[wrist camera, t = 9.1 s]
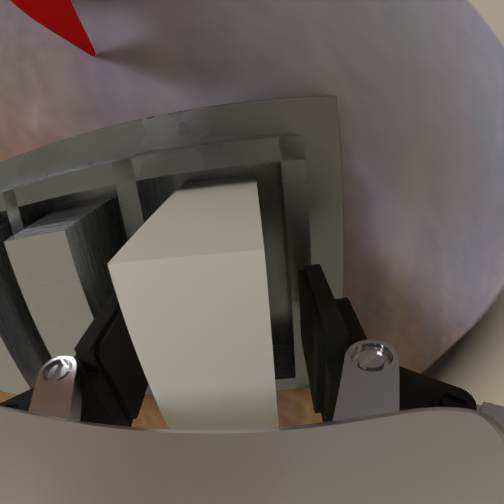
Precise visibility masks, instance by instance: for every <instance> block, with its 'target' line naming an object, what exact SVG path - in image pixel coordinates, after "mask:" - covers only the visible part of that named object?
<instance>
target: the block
mask: <svg viewBox="0 0 504 504" xmlns="http://www.w3.org/2000/svg"><path fill="white" fill-rule="evenodd" d="M107 265H108V268H109V272H110V275H111V278H112V282H113V285H114V289H115V292H116V295H117V298H118V301H119V304H120V308H121V311H122V314H123V317H124V320H125V323H126V325H127V328H128V331H129V334H130V337H131V340H132V342H133V345H134V348H135V350H136V353H137V356H138V358H139V361H140V363H141V366H142V369H143V371H144V374H145V376H146V378H147V381H148V383H149V386H150V388H151V390H152V393H153V395H154V397H155V400H156V402H157V404H158V407H159V409H160V411H161V413H162V415H163V418H164V420H165V422H166V424H167V426H168V428H169V429H171V430H240V429H260V428H274V427H279V425H278V412H277V398H276V385H275V372H274V359H273V346H272V334H271V321H270V309H269V297H268V285H267V274H266V262H265V251H264V242H263V233H262V224H261V216H260V207H259V199H258V190H257V182H256V175H248V176H238V177H228V178H219V179H210V180H202V181H194V182H186V183H183V184H182V185H181V186H180V187H179V188H178V189H177V190H176V191H175V192H174V193H173V194H172V195H171V196H170V197H169V198H168V199H167V200H166V201H165V202H164V203H163V204H162V205H161V206H160V207H159V208H158V209H157V210H156V211H155V212H154V213H153V215H152V216H151V217H150V218H149V219H148V220H147V221H146V222H145V223H144V224H143V225H142V226H141V227H140V228H139V229H138V230H137V232H136V233H135V234H134V235H133V236H132V237H131V238H130V239H129V240H128V241H127V242H126V244H125V245H124V246H123V247H122V248H121V249H120V250H119V251H118V252H117V254H116V255H115V256H114V257H113V258H112V259H111V260H110V261H109V263H108V264H107Z"/></svg>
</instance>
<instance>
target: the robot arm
mask: <svg viewBox="0 0 504 504" xmlns="http://www.w3.org/2000/svg"><path fill="white" fill-rule="evenodd" d="M298 282H299V302H300V327H301V341H302V347H303V352H304V357H305V363H306V368H307V373H308V379H309V384H310V389H311V395H312V400H313V406H314V411H315V413H321V415H322V420H323V422H322V423H314V424H305V425H296V426H286V427H274V428H260V429H240V430H171V429H151V428H137V427H131V424H132V421H133V419H136V418H137V417H138V414H139V411H140V408H141V405H142V402H143V399H144V396H145V393H146V390H147V387H148V384H149V383H148V381H147V378H146V376H145V374H144V371H143V369H142V366H141V363H140V361H139V358H138V356H137V353H136V350H135V348H134V345H133V342H132V340H131V337H130V334H129V331H128V328H127V325H126V323H125V320H124V317H123V314H122V311H121V308H120V304H119V301H118V298H117V295H116V292H115V290H114V291H113V293H112V294H111V295H110V297H109V298H108V300H107V301H106V302H105V304H104V305H103V307H102V308H101V310H100V311H99V312H98V314H97V315H96V317H95V318H94V320H93V321H92V323H91V324H90V326H89V327H88V328H87V330H86V331H85V333H84V334H83V336H82V337H81V339H80V340H79V342H78V344H77V345H76V347H75V348H74V350H75V352H76V355H75V356H74V358H72V357H70V356H59V357H56V358H53V359H51V360H49V361H48V362H47V363H45V364H44V365H43V366H42V368H41V369H40V371H39V373H38V377H37V380H36V384H35V387H33V388H31V389H29V390H27V391H25V392H23V393H21V394H19V395H17V396H15V397H13V398H11V399H9V400H7V401H5V402H3V403H0V504H504V407H502V406H498V405H494V404H491V403H486V402H483V404H482V406H481V405H477V404H476V402H475V400H474V398H473V397H472V396H471V395H470V394H469V393H468V392H467V391H465V390H463V389H461V388H459V387H456V386H453V385H450V384H447V383H444V382H441V381H438V380H436V379H433V378H430V377H427V376H425V375H422V374H419V373H416V372H414V371H411V370H408V369H406V368H403V367H400V366H399V356H398V353H397V351H396V350H395V348H394V347H393V346H391V345H390V344H388V343H386V342H383V341H380V340H373V339H372V340H367V338H366V336H365V333H364V331H363V329H362V327H361V325H360V323H359V320H358V318H357V316H356V314H355V312H354V310H353V308H352V306H351V303H350V301H349V300H348V298H339V299H335V298H334V296H333V294H332V291H331V289H330V286H329V284H328V282H327V279H326V277H325V275H324V272H323V270H322V268H321V265H320V264H314V265H305V266H304V270H298ZM327 421H329V422H327Z"/></svg>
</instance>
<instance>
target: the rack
mask: <svg viewBox="0 0 504 504" xmlns="http://www.w3.org/2000/svg"><path fill="white" fill-rule="evenodd" d="M248 175H256V182H257V190H258V199H259V207H260V216H261V224H262V233H263V242H264V251H265V262H266V274H267V285H268V297H269V309H270V321H271V334H272V346H273V359H274V372H275V385H276V391H283V390H293V389H302V388H310V384H309V379H308V373H307V368H306V363H305V357H304V352H303V347H302V341H301V327H300V302H299V282H298V270H304V266H305V265H314V264H320V265H321V268H322V270H323V272H324V275H325V277H326V279H327V282H328V284H329V286H330V289H331V291H332V294H333V296H334V298H335V299H339V298H343V271H344V228H343V189H342V167H341V150H340V136H339V123H338V111H337V101H336V96H317V97H297V98H282V99H269V100H258V101H249V102H240V103H232V104H224V105H217V106H210V107H203V108H197V109H191V110H185V111H179V112H174V113H169V114H163V115H158V116H154V117H149V118H144V119H140V120H135V121H131V122H127V123H123V124H119V125H115V126H111V127H107V128H103V129H99V130H96V131H92V132H89V133H85V134H82V135H78V136H75V137H72V138H68V139H65V140H62V141H59V142H56V143H53V144H50V145H47V146H44V147H41V148H38V149H35V150H33V151H30V152H27V153H24V154H22V155H19V156H16V157H14V158H11V159H9V160H6V161H4V162H1V163H0V390H1V391H4V392H8V393H12V394H17V395H19V394H21V393H23V392H25V391H27V390H29V389H31V388H33V387H35V384H36V380H37V377H38V373H39V371H40V369H41V368H42V366H43V365H44V364H45V363H47V362H48V361H49V360H51V359H53V358H56V357H59V356H70V357H72V358H74V356H75V355H76V352H75V350H74V348H75V347H76V345H77V344H78V342H79V340H80V339H81V337H82V336H83V334H84V333H85V331H86V330H87V328H88V327H89V326H90V324H91V323H92V321H93V320H94V318H95V317H96V315H97V314H98V312H99V311H100V310H101V308H102V307H103V305H104V304H105V302H106V301H107V300H108V298H109V297H110V295H111V294H112V293H113V291H114V290H115V289H114V285H113V282H112V278H111V275H110V272H109V268H108V265H107V264H108V263H109V261H110V260H111V259H112V258H113V257H114V256H115V255H116V254H117V252H118V251H119V250H120V249H121V248H122V247H123V246H124V245H125V244H126V242H127V241H128V240H129V239H130V238H131V237H132V236H133V235H134V234H135V233H136V232H137V230H138V229H139V228H140V227H141V226H142V225H143V224H144V223H145V222H146V221H147V220H148V219H149V218H150V217H151V216H152V215H153V213H154V212H155V211H156V210H157V209H158V208H159V207H160V206H161V205H162V204H163V203H164V202H165V201H166V200H167V199H168V198H169V197H170V196H171V195H172V194H173V193H174V192H175V191H176V190H177V189H178V188H179V187H180V186H181V185H182V184H183V183H186V182H194V181H202V180H210V179H219V178H228V177H238V176H248ZM145 395H153V393H152V390H151V388H150V386H149V384H148V387H147V390H146V393H145Z"/></svg>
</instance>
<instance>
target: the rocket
mask: <svg viewBox="0 0 504 504" xmlns="http://www.w3.org/2000/svg"><path fill="white" fill-rule="evenodd" d="M11 1H12V2H13V3H14V4H15V5H16V6H17V7H19V8H20V9H21V10H22V11H23V12H25V13H26V14H27V15H29V16H30V17H31V18H33V19H34V20H36V21H37V22H39V23H40V24H42V25H43V26H45V27H46V28H48V29H49V30H51V31H53V32H54V33H56V34H57V35H59V36H61V37H62V38H64V39H66V40H67V41H69V42H70V43H72V44H74V45H75V46H77V47H78V48H80V49H82V50H83V51H85V52H86V53H88V54H89V55H91V56H95V55H96V53H95V51H94V48H93V46H92V44H91V42H90V40H89V38H88V36H87V34H86V32H85V30H84V28H83V26H82V24H81V22H80V20H79V18H78V16H77V14H76V12H75V10H74V7H73V5H72V3H71V1H70V0H11Z"/></svg>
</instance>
